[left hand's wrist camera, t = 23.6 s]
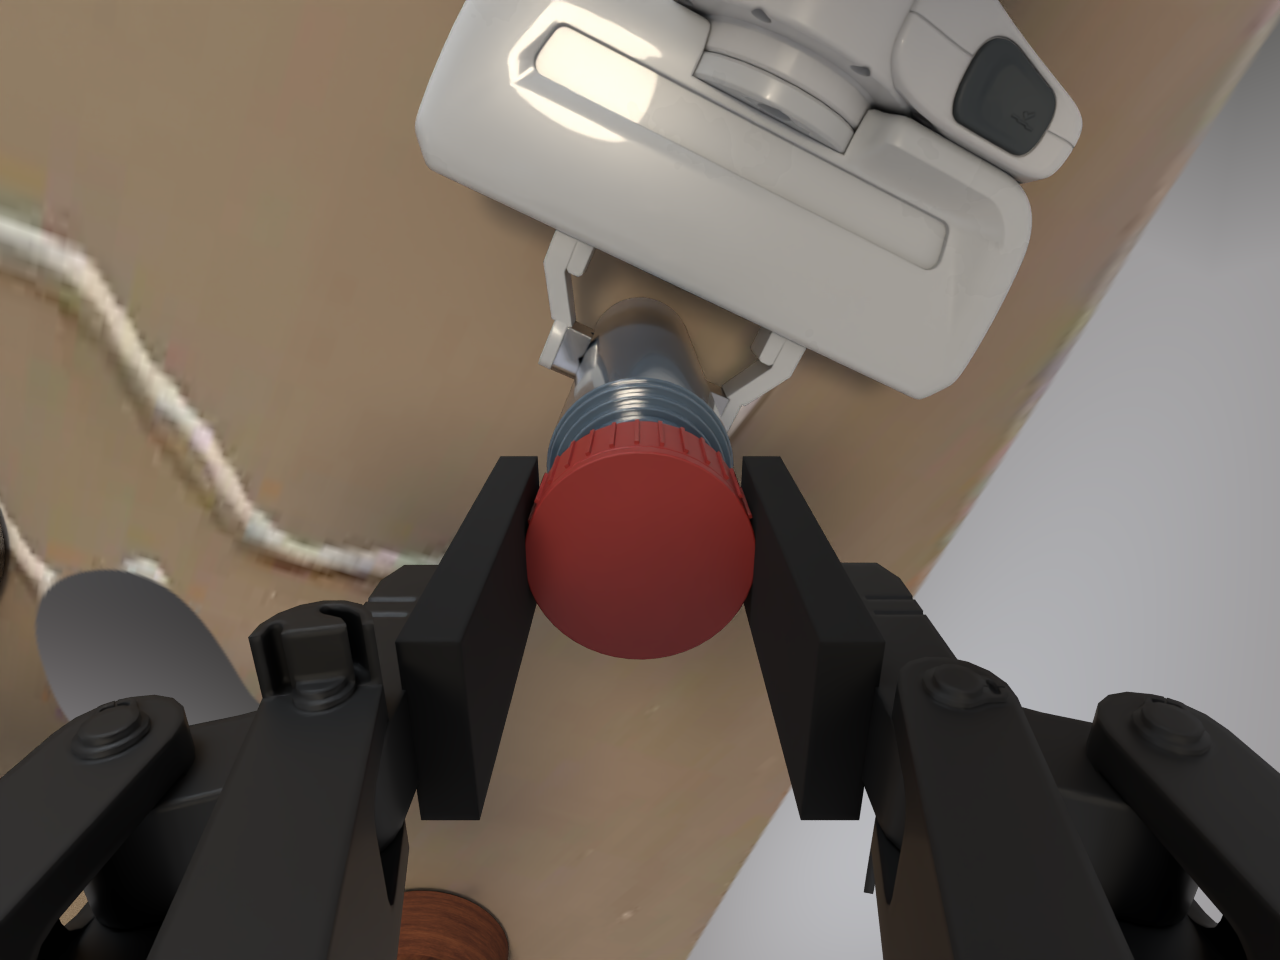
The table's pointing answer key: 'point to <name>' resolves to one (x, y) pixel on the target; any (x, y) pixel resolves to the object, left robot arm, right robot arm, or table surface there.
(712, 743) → the table surface
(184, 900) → the left robot arm
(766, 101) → the right robot arm
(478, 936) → the music box
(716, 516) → the cap
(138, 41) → the table surface
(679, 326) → the bottle
